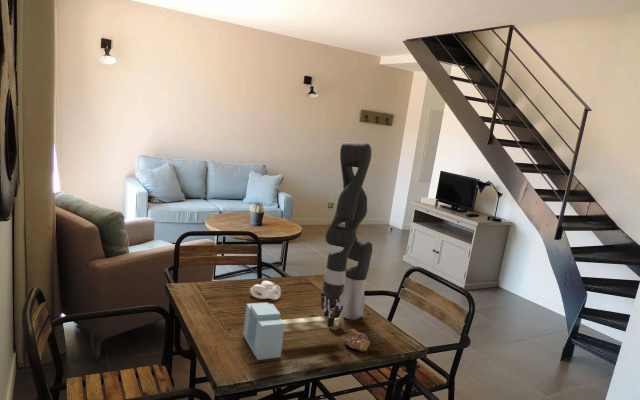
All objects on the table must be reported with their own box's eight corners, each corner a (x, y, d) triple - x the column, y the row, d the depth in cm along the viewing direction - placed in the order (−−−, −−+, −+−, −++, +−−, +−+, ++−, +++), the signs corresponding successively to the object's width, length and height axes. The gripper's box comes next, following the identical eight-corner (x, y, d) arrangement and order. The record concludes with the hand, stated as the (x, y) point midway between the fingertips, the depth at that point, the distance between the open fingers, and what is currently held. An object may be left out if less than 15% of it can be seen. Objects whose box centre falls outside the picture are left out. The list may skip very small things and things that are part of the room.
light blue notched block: (264, 333, 164) (268, 298, 162) (280, 357, 149) (285, 319, 147) (243, 335, 160) (247, 299, 158) (257, 359, 145) (262, 321, 143)
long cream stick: (334, 322, 168) (335, 315, 167) (338, 326, 165) (339, 318, 165) (279, 327, 158) (280, 320, 157) (282, 331, 155) (283, 323, 155)
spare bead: (332, 324, 178) (334, 312, 178) (343, 329, 176) (345, 317, 175) (327, 327, 175) (329, 315, 174) (338, 332, 172) (339, 320, 172)
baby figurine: (246, 296, 195) (252, 277, 199) (270, 305, 201) (275, 286, 205) (257, 295, 188) (262, 274, 192) (281, 304, 194) (286, 284, 198)
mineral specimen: (334, 337, 165) (344, 320, 166) (346, 343, 169) (355, 327, 171) (357, 352, 156) (366, 334, 157) (368, 358, 160) (377, 341, 162)
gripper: (352, 287, 157) (346, 332, 160) (334, 273, 170) (328, 315, 173) (334, 288, 154) (327, 334, 157) (317, 273, 166) (311, 316, 169)
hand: (328, 324), depth 165 cm, fingers closed on long cream stick, 3 cm apart
